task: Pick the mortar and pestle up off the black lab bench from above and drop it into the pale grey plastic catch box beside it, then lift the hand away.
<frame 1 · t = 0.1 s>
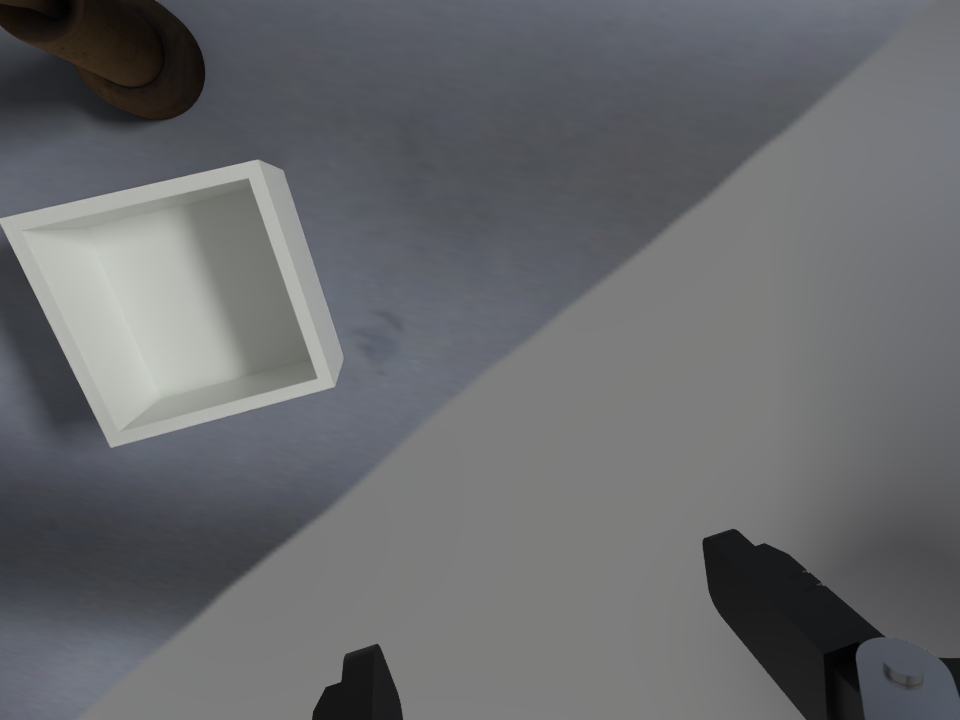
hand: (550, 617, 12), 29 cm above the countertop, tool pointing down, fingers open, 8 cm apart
catch box: (219, 293, 37), on the countertop
mortar and pestle: (149, 64, 33), on the countertop
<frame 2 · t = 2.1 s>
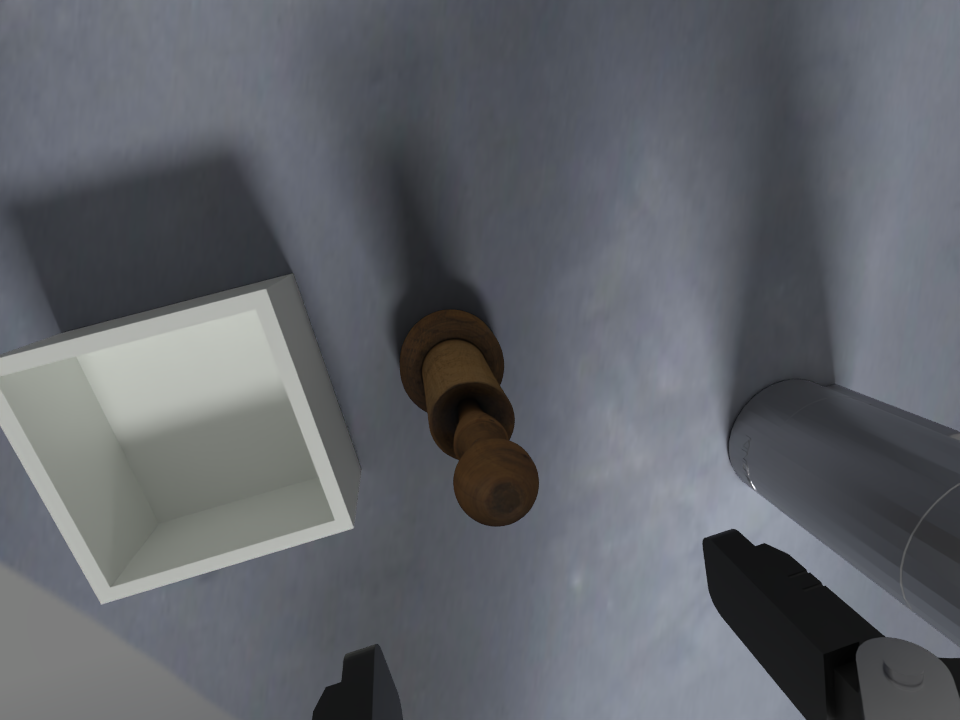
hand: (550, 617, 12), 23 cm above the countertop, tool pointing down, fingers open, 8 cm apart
catch box: (222, 406, 33), on the countertop
mortar and pestle: (449, 358, 35), on the countertop
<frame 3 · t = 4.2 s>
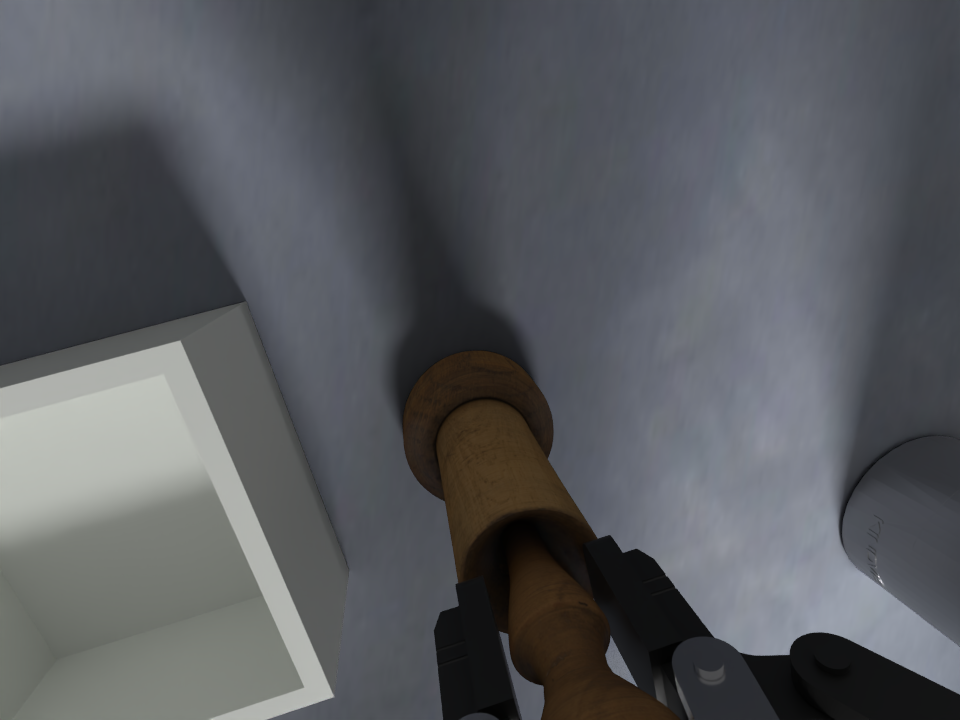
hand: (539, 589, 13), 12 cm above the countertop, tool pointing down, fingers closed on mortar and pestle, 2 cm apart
catch box: (147, 492, 23), on the countertop
mortar and pestle: (472, 417, 25), on the countertop, touching gripper
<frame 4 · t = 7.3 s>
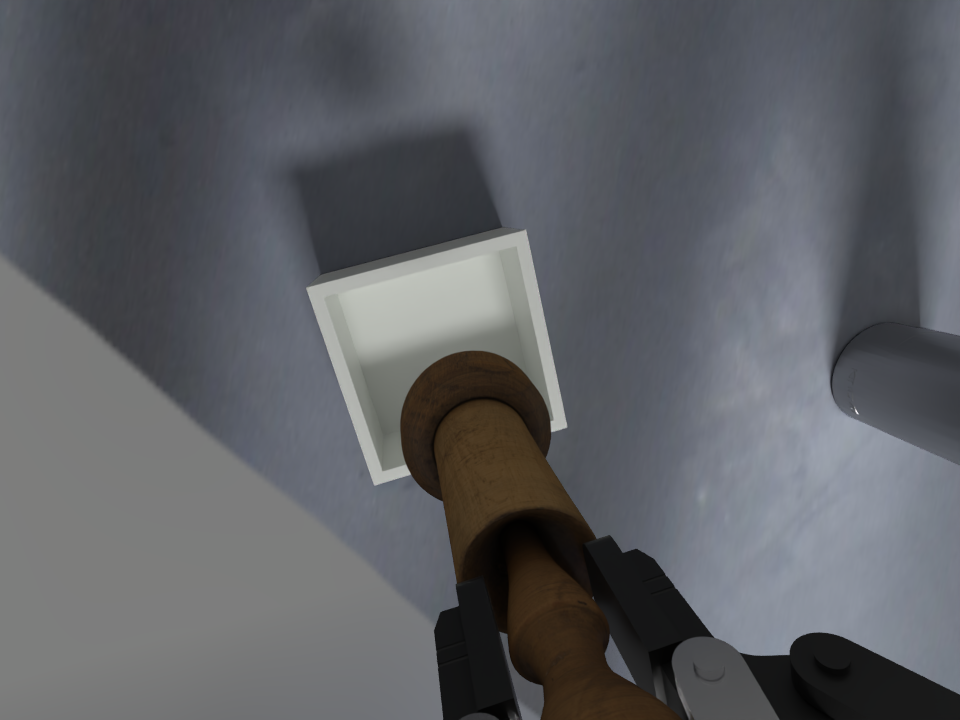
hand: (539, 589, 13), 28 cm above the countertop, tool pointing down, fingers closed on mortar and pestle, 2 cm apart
catch box: (437, 338, 40), on the countertop
mortar and pestle: (469, 417, 25), point 16 cm above the countertop, touching gripper
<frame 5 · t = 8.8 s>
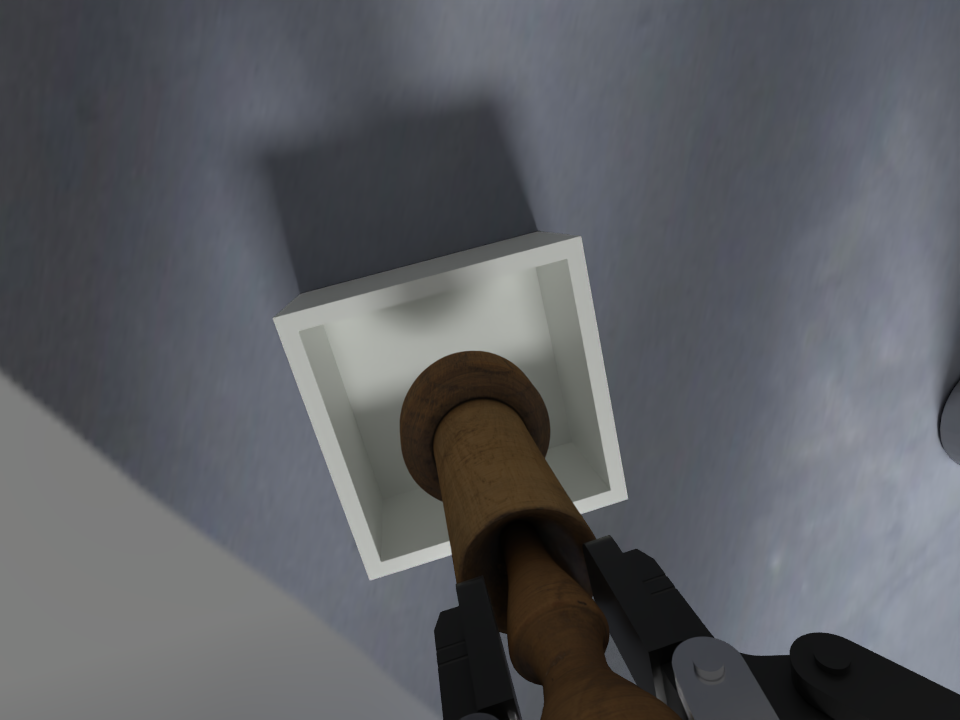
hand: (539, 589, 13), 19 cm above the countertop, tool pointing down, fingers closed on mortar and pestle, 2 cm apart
catch box: (452, 374, 31), on the countertop
mortar and pestle: (469, 417, 25), point 7 cm above the countertop, touching gripper
when the fingers open (14 cm above the countertop, at t = 10.3 s): mortar and pestle drops 2 cm, resting on catch box.
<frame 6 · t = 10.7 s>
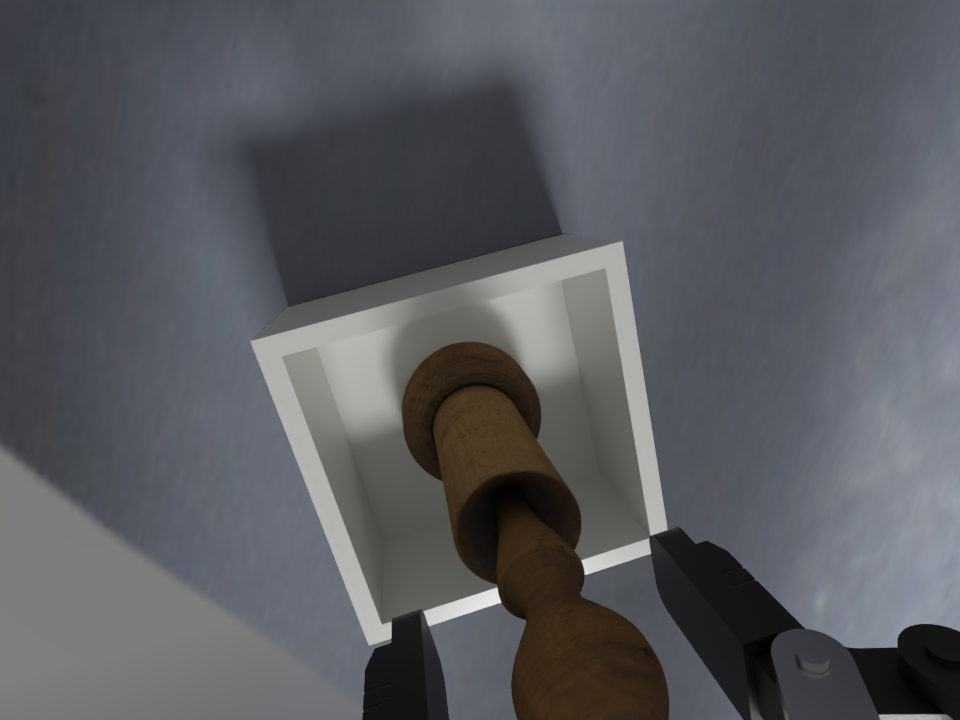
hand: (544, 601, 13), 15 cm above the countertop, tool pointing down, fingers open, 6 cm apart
catch box: (463, 397, 27), on the countertop
mortar and pestle: (466, 404, 26), point 1 cm above the countertop, touching catch box
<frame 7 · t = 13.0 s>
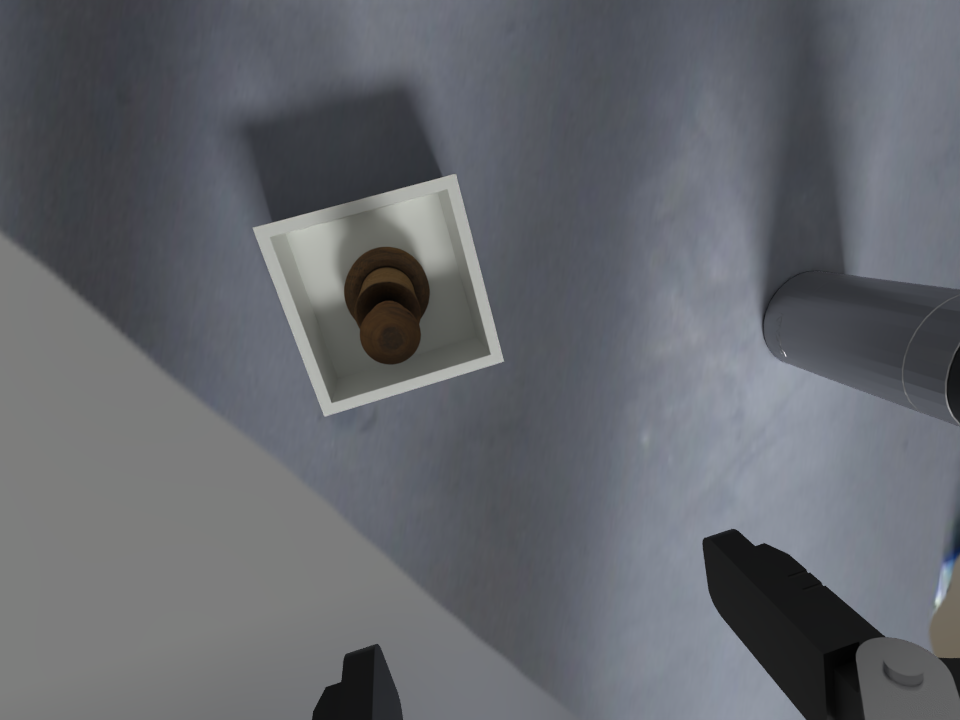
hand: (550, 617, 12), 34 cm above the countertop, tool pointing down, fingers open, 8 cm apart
catch box: (386, 286, 43), on the countertop
mortar and pestle: (387, 288, 42), point 1 cm above the countertop, touching catch box
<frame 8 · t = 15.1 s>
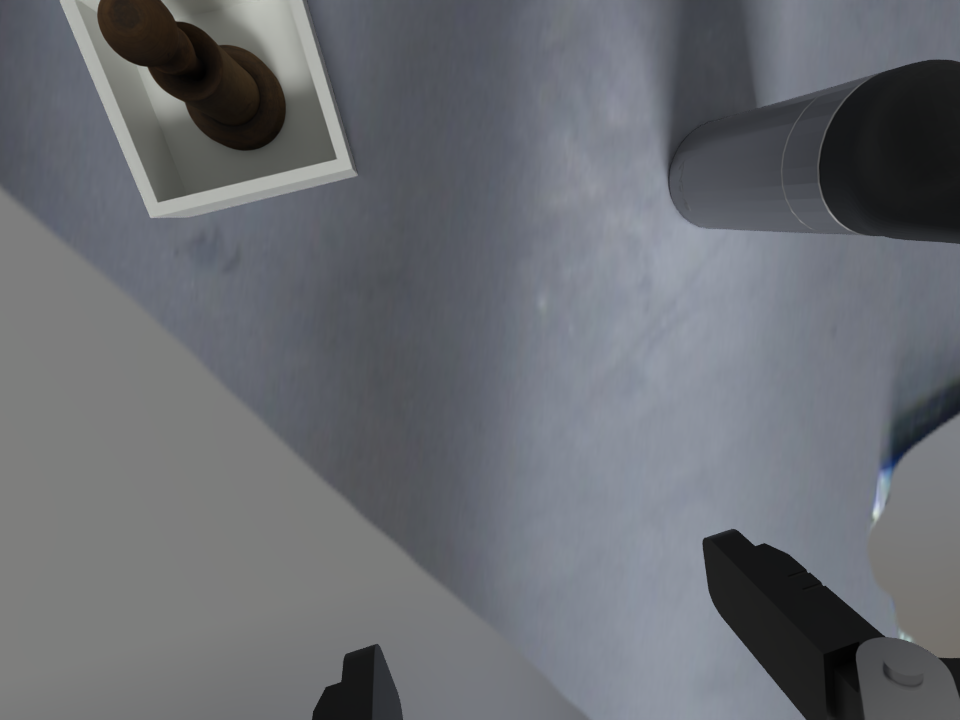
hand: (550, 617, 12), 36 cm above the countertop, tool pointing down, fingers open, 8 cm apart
catch box: (243, 105, 40), on the countertop
mortar and pestle: (241, 103, 39), point 1 cm above the countertop, touching catch box
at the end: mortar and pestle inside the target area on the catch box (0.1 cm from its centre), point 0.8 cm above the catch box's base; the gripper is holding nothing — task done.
